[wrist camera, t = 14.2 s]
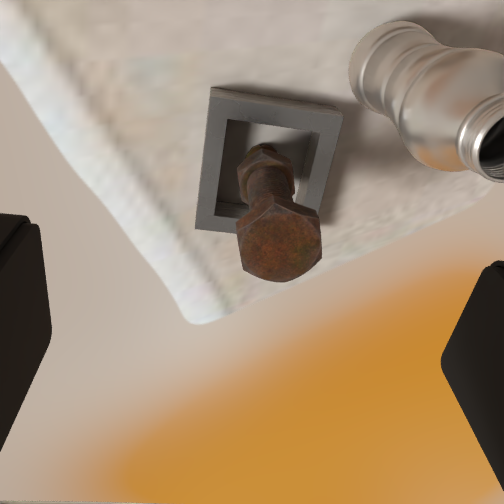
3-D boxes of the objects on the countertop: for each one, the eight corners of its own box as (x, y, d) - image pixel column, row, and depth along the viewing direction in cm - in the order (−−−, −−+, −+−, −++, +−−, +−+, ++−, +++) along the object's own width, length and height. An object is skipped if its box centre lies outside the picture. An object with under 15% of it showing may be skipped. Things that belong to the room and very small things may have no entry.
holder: (335, 106, 39) (343, 116, 37) (305, 226, 45) (310, 242, 43) (210, 87, 38) (210, 96, 35) (196, 213, 44) (194, 228, 41)
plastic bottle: (438, 67, 38) (614, 151, 21) (367, 120, 40) (477, 236, 23) (400, -3, 35) (568, 30, 18) (325, 58, 37) (416, 138, 20)
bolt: (303, 145, 41) (341, 228, 28) (279, 195, 43) (305, 292, 31) (241, 121, 40) (252, 197, 27) (220, 174, 42) (221, 267, 29)
